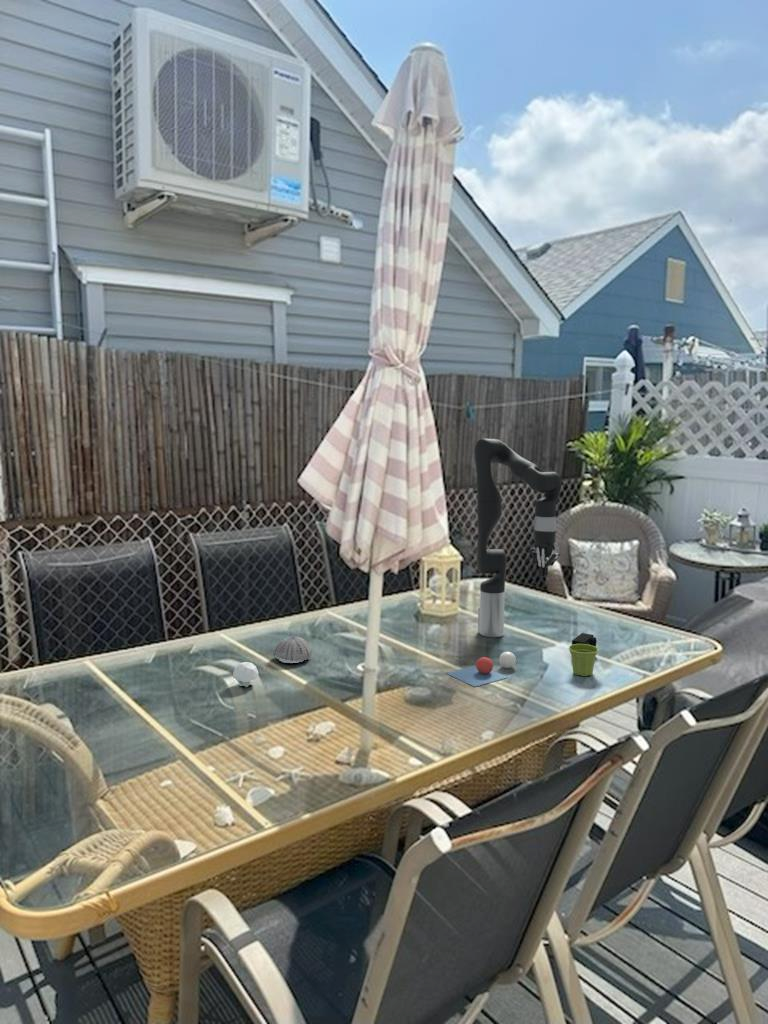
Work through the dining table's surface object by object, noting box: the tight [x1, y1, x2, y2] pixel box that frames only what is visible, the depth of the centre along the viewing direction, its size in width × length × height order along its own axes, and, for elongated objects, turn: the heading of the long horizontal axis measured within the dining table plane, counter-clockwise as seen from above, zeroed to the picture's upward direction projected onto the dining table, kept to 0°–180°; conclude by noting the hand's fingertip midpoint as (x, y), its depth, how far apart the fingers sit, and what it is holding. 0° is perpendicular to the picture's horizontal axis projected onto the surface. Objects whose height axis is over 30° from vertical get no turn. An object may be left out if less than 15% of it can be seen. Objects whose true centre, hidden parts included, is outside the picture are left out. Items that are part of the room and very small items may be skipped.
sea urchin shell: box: [273, 636, 313, 661], centre depth 248 cm, size 13×14×8 cm
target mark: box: [446, 665, 508, 688], centre depth 233 cm, size 14×14×1 cm
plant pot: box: [568, 644, 599, 677], centre depth 234 cm, size 9×9×9 cm
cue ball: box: [498, 651, 517, 669], centre depth 240 cm, size 6×6×6 cm
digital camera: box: [570, 632, 597, 658], centre depth 250 cm, size 10×5×7 cm, turn 146°
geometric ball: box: [232, 661, 259, 682], centre depth 224 cm, size 8×8×8 cm
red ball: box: [475, 656, 494, 674], centre depth 234 cm, size 6×6×6 cm
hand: (543, 576), depth 254 cm, fingers closed
